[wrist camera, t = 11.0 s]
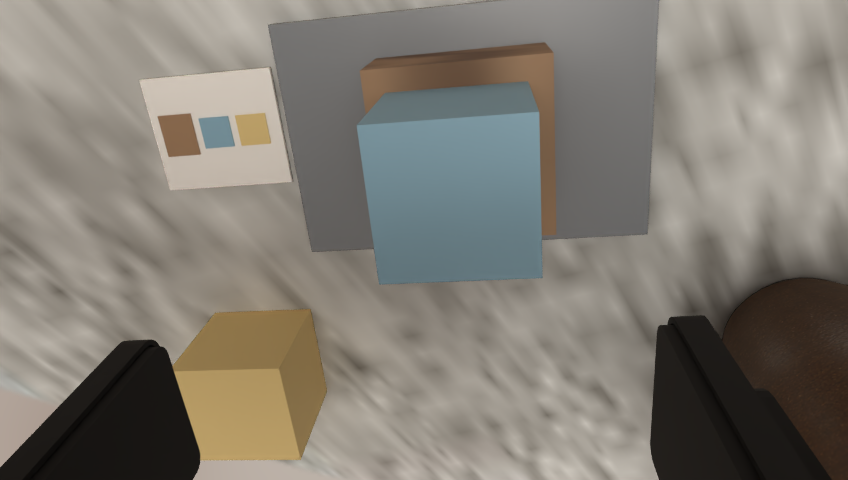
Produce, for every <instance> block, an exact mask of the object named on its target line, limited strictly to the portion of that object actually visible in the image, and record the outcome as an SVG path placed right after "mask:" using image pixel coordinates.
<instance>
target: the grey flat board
mask: <svg viewBox="0 0 848 480" xmlns="http://www.w3.org/2000/svg"><path fill="white" fill-rule="evenodd" d="M658 11H659V0H495V1H486V2H476V3H467V4H457V5H448V6H438V7H429V8H419V9H410V10H400V11H391V12H381V13H372V14H362V15H353V16H343V17H334V18H324V19H315V20H305V21H296V22H286V23H277V24H270V25H268V28H269V33H270V38H271V43H272V48H273V53H274V59H275V64H276V69H277V74H278V79H279V84H280V90H281V95H282V100H283V105H284V110H285V115H286V120H287V126H288V131H289V136H290V141H291V146H292V151H293V157H294V162H295V167H296V172H297V177H298V182H299V188H300V193H301V198H302V203H303V208H304V213H305V219H306V224H307V229H308V234H309V239H310V244H311V250H312V252H322V251H341V250H360V249H374V245H373V237H372V230H371V223H370V216H369V209H368V202H367V195H366V188H365V181H364V174H363V167H362V160H361V153H360V146H359V139H358V132H357V124H358V123H359V122H360V121H361V120H362V119H363V118H364V116H365V115H366V112H365V105H364V98H363V91H362V84H361V77H360V70H361V69H362V68H364V67H365V66H366V65H368V64H369V63H370V62H372V61H373V60H374V59H376V58H385V57H396V56H406V55H417V54H427V53H438V52H448V51H459V50H469V49H480V48H490V47H501V46H511V45H522V44H532V43H543V42H545V43H546V44H547V45H548V46H549V48H550V49H551V50H552V51H553V53H554V110H555V174H556V235H543V236H542V240H549V239H568V238H587V237H606V236H625V235H644V234H647V233H648V213H649V193H650V173H651V152H652V132H653V112H654V92H655V72H656V51H657V31H658Z"/></svg>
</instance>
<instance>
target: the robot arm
mask: <svg viewBox="0 0 848 480" xmlns="http://www.w3.org/2000/svg"><path fill="white" fill-rule="evenodd" d="M650 446H651V455H652V460H653V463H654V466H655V469H656V472H657V475H658V478H659V480H832V479H831V478H830V476H829V475H828V473H827V472H826V470H825V469H824V467H823V466H822V465H821V463H820V462H819V460H818V459H817V457H816V456H815V455H814V453H813V452H812V450H811V449H810V447H809V446H808V445H807V443H806V442H805V440H804V439H803V437H802V436H801V435H800V433H799V432H798V430H797V429H796V427H795V426H794V425H793V423H792V422H791V420H790V419H789V417H788V416H787V415H786V413H785V412H784V410H783V409H782V407H781V406H780V404H779V403H778V402H777V400H776V399H775V397H774V396H773V395H772V394H771V393H770V392H769V391H768V390H766V389H764V388H756V389H754V388H753V387H752V385H751V384H750V382H749V381H748V379H747V378H746V376H745V375H744V373H743V372H742V370H741V369H740V367H739V366H738V364H737V363H736V361H735V360H734V358H733V357H732V355H731V354H730V352H729V351H728V349H727V348H726V346H725V345H724V343H723V342H722V340H721V339H720V337H719V336H718V334H717V333H716V331H715V330H714V328H713V327H712V325H711V324H710V322H709V320H708V319H707V318H706V317H705V316H680V317H670V318H669V321H668V325H660V326H659V327H658V330H657V342H656V359H655V375H654V391H653V407H652V423H651V439H650ZM199 465H200V450H199V447H198V444H197V441H196V438H195V435H194V432H193V429H192V425H191V422H190V419H189V416H188V413H187V410H186V407H185V404H184V401H183V398H182V395H181V392H180V389H179V385H178V382H177V379H176V376H175V373H174V370H173V367H172V364H171V361H170V358H169V355H168V352H167V350H166V349H165V348H164V347H160V346H159V344H158V343H157V342H156V341H154V340H133V341H123V342H121V343H120V344H119V345H118V346H117V347H116V348H115V349H114V350H113V351H112V352H111V353H110V354H109V355H108V356H107V357H106V358H105V359H104V360H103V361H102V362H101V363H100V364H99V365H98V366H97V368H96V369H95V370H94V371H93V372H92V373H91V374H90V375H89V376H88V377H87V378H86V379H85V380H84V381H83V382H82V383H81V384H80V385H79V386H78V387H77V388H76V389H75V390H74V391H73V392H72V393H71V395H70V396H69V397H68V398H67V399H66V400H65V401H64V402H63V403H62V404H61V405H60V406H59V407H58V408H57V409H56V410H55V411H54V412H53V413H52V414H51V415H50V417H48V418H47V419H46V420H45V422H44V423H43V424H42V425H41V426H40V427H39V428H38V429H37V430H36V431H35V432H34V433H33V434H32V435H31V436H30V437H29V438H28V439H27V440H26V441H25V442H24V443H23V444H22V446H20V447H19V449H18V450H17V451H16V452H15V453H14V454H13V455H12V456H11V457H10V458H9V459H8V460H7V461H6V462H5V463H4V464H3V465H2V466H1V467H0V480H193V478H194V477H195V475H196V473H197V471H198V469H199Z"/></svg>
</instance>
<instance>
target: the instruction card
mask: <svg viewBox="0 0 848 480" xmlns="http://www.w3.org/2000/svg"><path fill="white" fill-rule="evenodd" d="M139 82H140V85H141V89H142V92H143V96H144V99H145V103H146V106H147V110H148V113H149V117H150V120H151V124H152V127H153V131H154V134H155V138H156V142H157V145H158V149H159V152H160V156H161V159H162V163H163V166H164V170H165V173H166V177H167V180H168V184H169V187H170V190H184V189H199V188H213V187H228V186H242V185H257V184H271V183H286V182H292V181H293V178H292V173H291V168H290V163H289V158H288V153H287V148H286V143H285V137H284V132H283V127H282V122H281V117H280V112H279V107H278V102H277V97H276V92H275V87H274V82H273V77H272V72H271V67H266V68H255V69H245V70H234V71H224V72H213V73H203V74H192V75H182V76H171V77H161V78H151V79H141V80H139Z"/></svg>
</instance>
